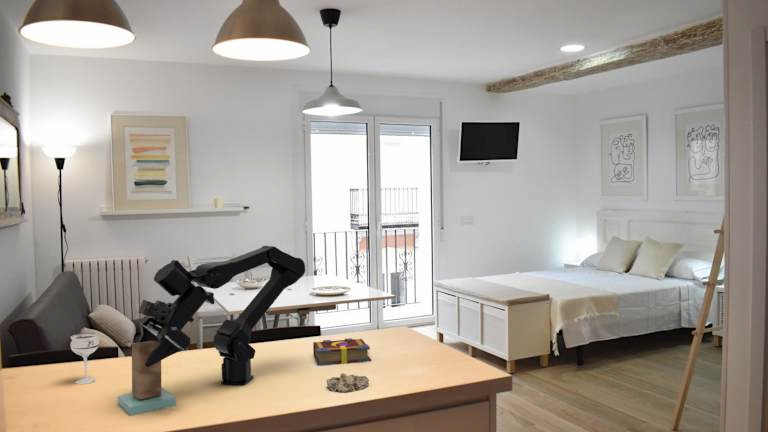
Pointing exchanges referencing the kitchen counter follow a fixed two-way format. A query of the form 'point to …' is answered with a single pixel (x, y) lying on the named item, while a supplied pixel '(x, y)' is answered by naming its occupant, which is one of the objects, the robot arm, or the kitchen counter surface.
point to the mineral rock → (347, 383)
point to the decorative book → (340, 351)
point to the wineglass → (84, 350)
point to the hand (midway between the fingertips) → (139, 361)
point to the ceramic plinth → (146, 402)
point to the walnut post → (145, 371)
